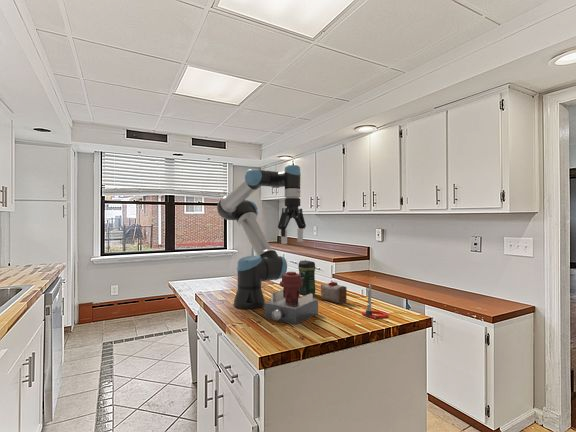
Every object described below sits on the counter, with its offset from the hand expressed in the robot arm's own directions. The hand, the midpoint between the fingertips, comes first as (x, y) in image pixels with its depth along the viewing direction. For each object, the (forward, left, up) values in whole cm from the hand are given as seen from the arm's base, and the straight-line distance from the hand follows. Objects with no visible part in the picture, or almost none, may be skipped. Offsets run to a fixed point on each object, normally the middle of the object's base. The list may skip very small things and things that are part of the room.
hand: (292, 242), depth 155 cm
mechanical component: (+7, -11, -24) cm, 28 cm away
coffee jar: (-9, +28, -31) cm, 43 cm away
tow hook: (+37, +10, -31) cm, 49 cm away
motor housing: (+7, -12, -31) cm, 34 cm away
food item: (+10, +23, -31) cm, 40 cm away
